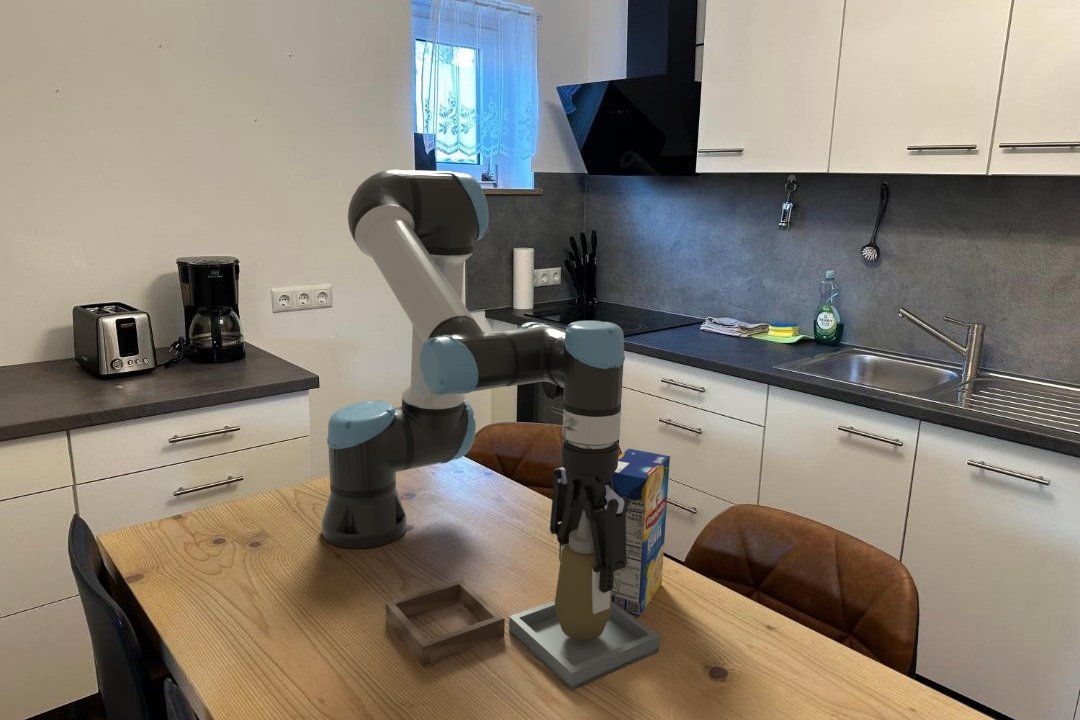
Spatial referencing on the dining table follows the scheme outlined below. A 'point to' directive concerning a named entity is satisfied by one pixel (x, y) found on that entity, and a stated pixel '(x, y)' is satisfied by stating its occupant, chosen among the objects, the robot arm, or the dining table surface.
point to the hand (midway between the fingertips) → (583, 597)
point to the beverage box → (641, 527)
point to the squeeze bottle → (579, 587)
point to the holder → (451, 642)
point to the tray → (583, 644)
